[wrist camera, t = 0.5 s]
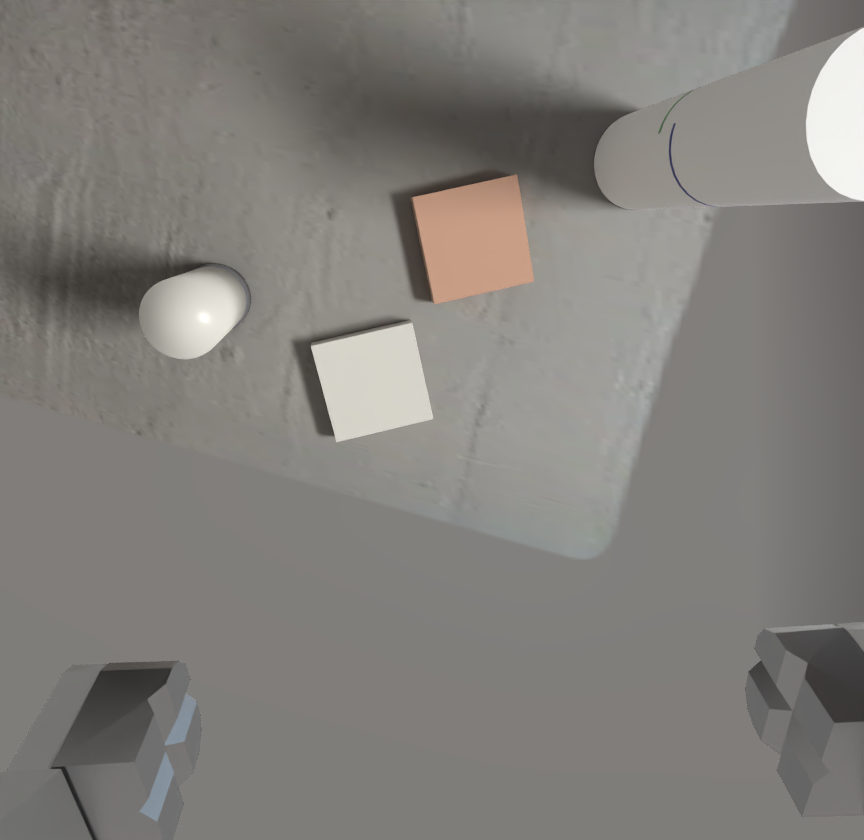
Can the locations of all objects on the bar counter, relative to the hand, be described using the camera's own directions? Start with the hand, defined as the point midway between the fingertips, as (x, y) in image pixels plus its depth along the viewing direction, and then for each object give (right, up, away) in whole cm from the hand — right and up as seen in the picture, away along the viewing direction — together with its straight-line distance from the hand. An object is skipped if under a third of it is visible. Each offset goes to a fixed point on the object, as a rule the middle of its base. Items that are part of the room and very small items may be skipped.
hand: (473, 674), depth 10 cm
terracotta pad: (+2, +18, +43) cm, 46 cm away
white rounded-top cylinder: (-17, +13, +42) cm, 47 cm away
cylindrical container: (+15, +24, +43) cm, 51 cm away
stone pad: (-5, +7, +45) cm, 46 cm away
